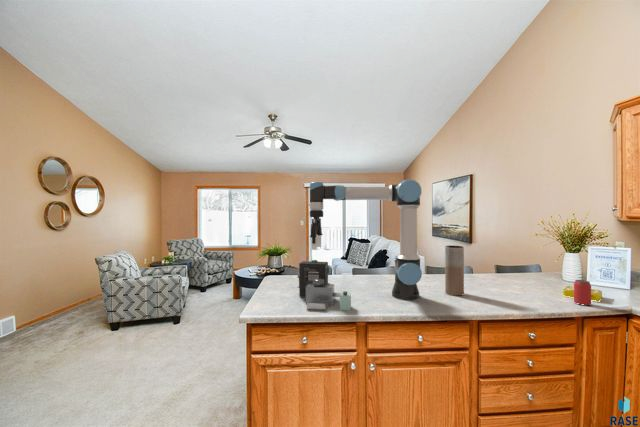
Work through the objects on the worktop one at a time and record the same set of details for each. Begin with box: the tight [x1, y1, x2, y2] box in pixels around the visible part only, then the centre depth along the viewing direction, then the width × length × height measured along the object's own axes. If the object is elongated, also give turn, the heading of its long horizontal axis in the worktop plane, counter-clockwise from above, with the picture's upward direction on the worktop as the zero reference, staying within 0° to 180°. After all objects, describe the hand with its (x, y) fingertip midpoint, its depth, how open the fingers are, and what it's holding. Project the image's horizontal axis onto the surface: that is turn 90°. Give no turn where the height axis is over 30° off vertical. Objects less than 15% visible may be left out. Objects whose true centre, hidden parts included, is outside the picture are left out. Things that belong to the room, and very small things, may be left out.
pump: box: [339, 290, 352, 311], centre depth 144 cm, size 5×6×8 cm
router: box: [296, 259, 331, 298], centre depth 167 cm, size 8×18×20 cm, turn 78°
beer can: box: [573, 279, 592, 306], centre depth 149 cm, size 7×7×12 cm
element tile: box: [562, 285, 603, 301], centre depth 162 cm, size 15×15×5 cm
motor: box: [305, 279, 341, 312], centre depth 148 cm, size 18×16×12 cm
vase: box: [444, 245, 465, 296], centre depth 169 cm, size 10×10×28 cm
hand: (316, 248), depth 160 cm, fingers open, 13 cm apart
